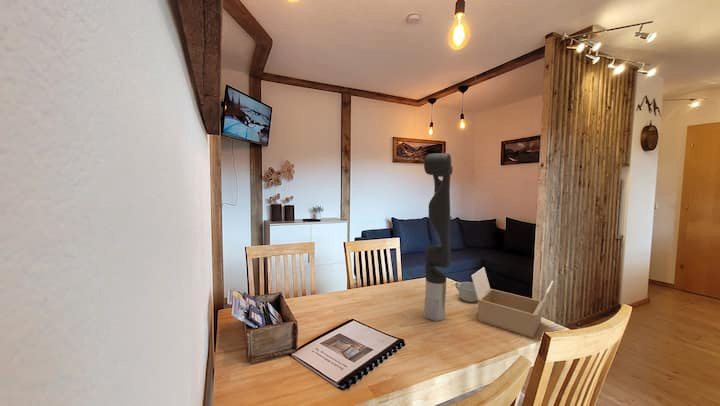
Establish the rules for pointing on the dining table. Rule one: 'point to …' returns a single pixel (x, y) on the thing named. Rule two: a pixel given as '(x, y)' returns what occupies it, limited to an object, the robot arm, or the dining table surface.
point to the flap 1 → (480, 282)
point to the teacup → (466, 291)
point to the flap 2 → (544, 298)
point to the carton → (510, 312)
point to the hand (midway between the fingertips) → (439, 232)
